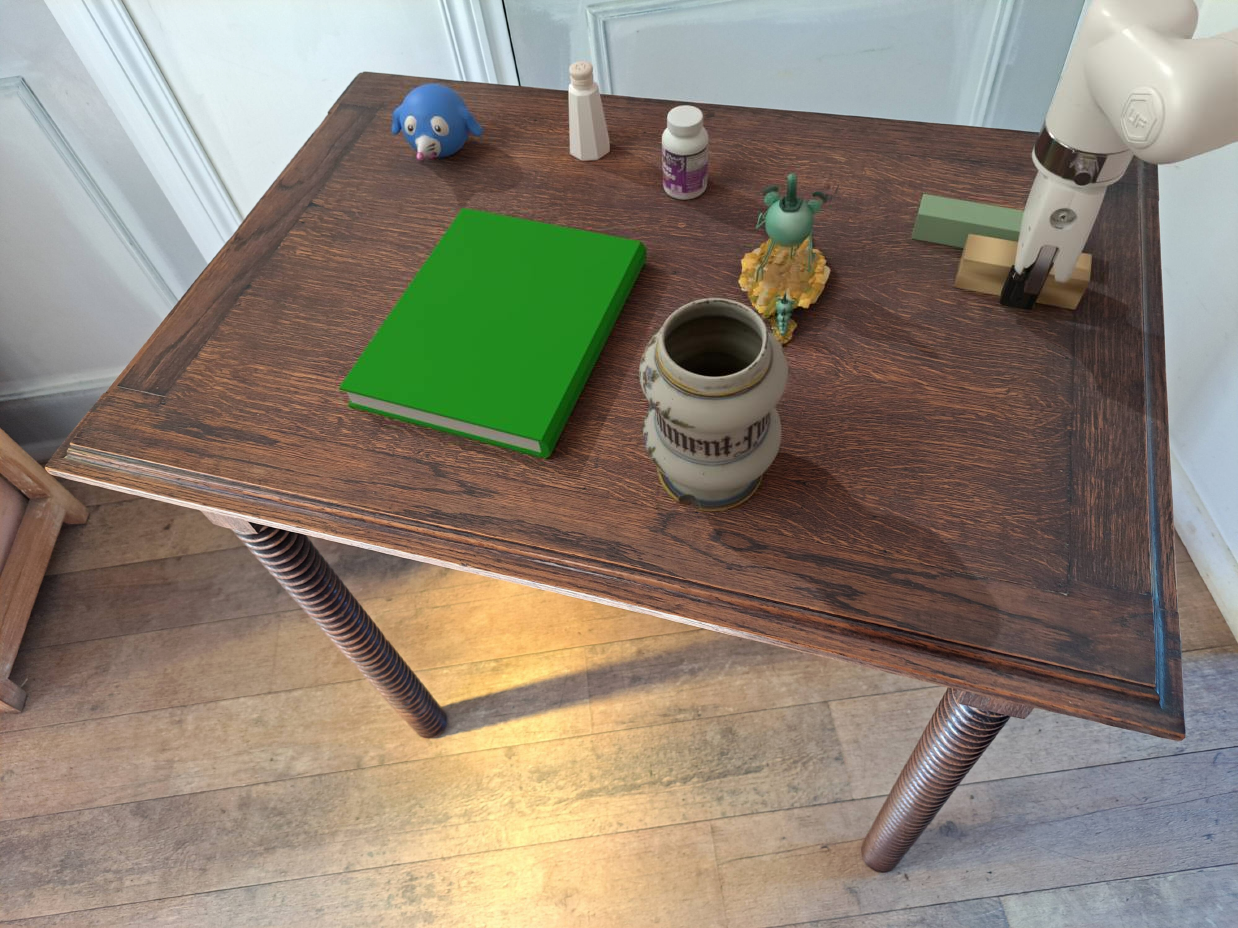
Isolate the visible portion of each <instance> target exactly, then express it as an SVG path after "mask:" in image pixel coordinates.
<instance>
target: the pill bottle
mask: <svg viewBox="0 0 1238 928" xmlns="http://www.w3.org/2000/svg"><path fill="white" fill-rule="evenodd" d="M661 160H662V161H661V162H662V186H663V189H664V191H665V193H666V194H667V195H668V196H670V197H671V198H674V199H677V200H682V201H686V200H693V199H695V198H698V197H700V196H701V195H702V194H703V193H705V191H706V189H707V187H708V186H707V185H708V170H709V169H708V168H709V133H708V131H707V130H706V128H705V127H704V114H703V111H701V110H700V108H698V107H696V106H693V105H688V104H687V105H686V104H685V105H678V106H676V107H673V108H672V109H670V111H668V113H667V116H666V128H665V129H664V131H663V132H662V136H661Z"/></svg>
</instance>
